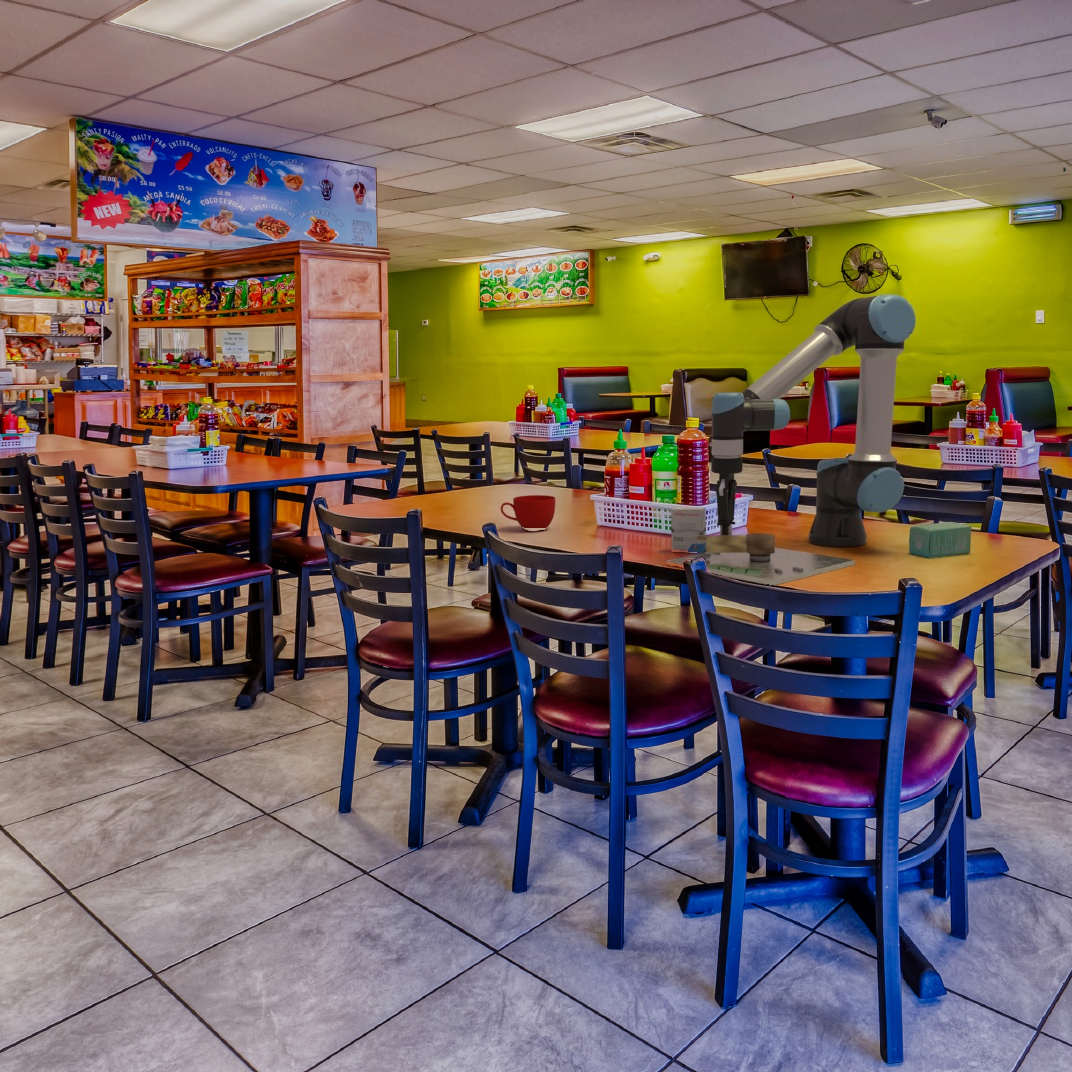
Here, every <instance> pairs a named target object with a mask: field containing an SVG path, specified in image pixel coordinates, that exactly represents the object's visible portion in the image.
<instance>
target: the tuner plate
mask: <svg viewBox="0 0 1072 1072" xmlns="http://www.w3.org/2000/svg"><path fill="white" fill-rule="evenodd" d="M687 558H703V559H704V560H705V562H706V568H707V570H709V571H710V572H712V573H716V574H718V575H717V576H720V575H722V576H721V577H725V578H730V577H731V578H732V579H737V580H743V581H747V582H751V583H752V582H753V583H756V584H763V585H767V584H769V585H768V586H772V585H774V586H777V585H781V584H785V583H789V582H792V581H797V580H800V579H804V578H808V577H812V575H813V576H816V575H817V576H818V575H820V574H824V573H828V572H832V571H835V570H840V569H842V568H848V567H851V566H855V564H856V563H855V561H856V560H855V559H851V558H845V557H839V556H832V555H825V554H819V553H818V554H817V553H814V552H807V551H801V550H800V551H799V550H793V549H787V548H780V547H775V553H772V554H764V555H759V554H749V553H706V551H705V552H704V553H699V554H697V553H695V554H692V555H687V556H682V557H675V558H672V559H667V560H666V563H667V562H671V563H676V564H680V565H683V561H684V560H686V559H687ZM819 573H820V574H819Z"/></svg>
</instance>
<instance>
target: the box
mask: <svg viewBox="0 0 1072 1072" xmlns="http://www.w3.org/2000/svg"><path fill="white" fill-rule="evenodd" d="M908 536H909V538H908V546H909V547H908V549H909V552H908V553H909V555H914V556H918V557H923V558H927V559H935V558H934V557H938V558H945V557H944V556H946V557H953V555H954V556H961V555H968V554H970V553H971V544H972V543H971V542H972V541H971V539H972V525H969V524H964V523H959V522H954V521H945V522H938V523H927V524H919V525H912V526H910V528H909V535H908Z"/></svg>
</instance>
